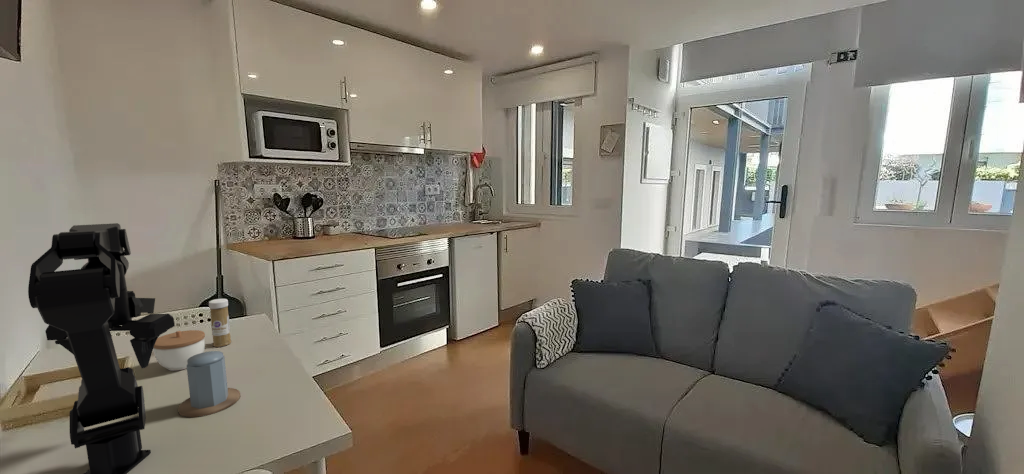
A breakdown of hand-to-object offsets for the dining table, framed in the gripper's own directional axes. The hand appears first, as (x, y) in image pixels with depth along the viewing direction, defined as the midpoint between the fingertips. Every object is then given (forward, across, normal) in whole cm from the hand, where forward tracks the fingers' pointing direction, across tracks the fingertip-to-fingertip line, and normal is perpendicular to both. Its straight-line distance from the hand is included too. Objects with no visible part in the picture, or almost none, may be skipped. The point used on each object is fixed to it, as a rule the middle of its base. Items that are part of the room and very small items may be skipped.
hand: (119, 368), depth 81 cm
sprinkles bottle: (+14, +6, -41) cm, 44 cm away
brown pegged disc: (+12, -11, -7) cm, 18 cm away
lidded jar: (+14, +8, -27) cm, 32 cm away
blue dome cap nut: (+12, -11, -7) cm, 18 cm away
